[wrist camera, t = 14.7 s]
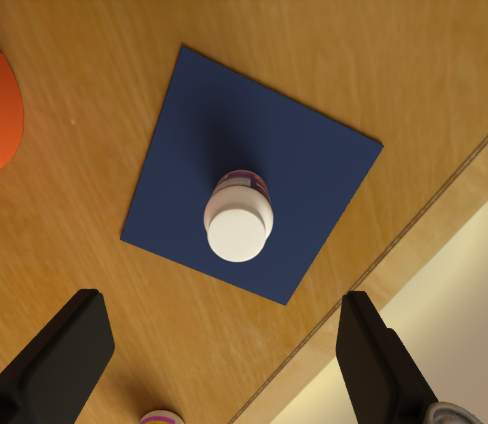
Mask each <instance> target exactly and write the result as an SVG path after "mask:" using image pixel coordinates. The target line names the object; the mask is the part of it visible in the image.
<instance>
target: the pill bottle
mask: <svg viewBox="0 0 488 424" xmlns="http://www.w3.org/2000/svg"><path fill="white" fill-rule="evenodd" d="M204 225H205V229H206V231H207V237H208V242H209V244H210V247H211V248H212V250H213V251H214V252H215V253H216V254H217V255H218V256H220V257H221V258H223V259H225V260H228V261H232V262H243V261H247V260H249V259H251V258H253V257H255V256H256V255H257V254H258V253H259V252H260V251H261V250H262V248H263V246H264V244H265V240H266V239H267V238H268V236H269V234H270V232H271V230H272V226H273V212H272V207H271V201H270V197H269V192H268V189H267V186H266V184H265V182H264V181H263V180H262V179H261V178H260V177H259V176H258V175H256V174H255V173H253V172H250V171H246V170H237V171H233V172H230V173H228V174H227V175H225V176H224V177H223V178H222V179H221V180H220V181H219V183H218V184H217V186H216V188H215V190H214V192H213V194H212V196H211V198H210V200H209V202H208V204H207V206H206V209H205V213H204Z"/></svg>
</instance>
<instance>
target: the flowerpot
mask: <svg viewBox="0 0 488 424" xmlns="http://www.w3.org/2000/svg"><path fill="white" fill-rule="evenodd" d="M23 124H24V111H23V105H22V98H21V94H20V91H19V88H18V85H17V82H16V79H15V76H14V74H13V72H12V70H11V68H10V66H9V64H8V62H7V60H6V58H5V57H4V55H3V54H2V53H1V51H0V169H1V168H3V167H4V166H5V165H6V164H7V163H8V162H9V161H10V160H11V159H12V158H13V156H14V154H15V152H16V150H17V149H18V147H19V145H20V141H21V137H22V133H23Z"/></svg>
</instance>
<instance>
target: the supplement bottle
mask: <svg viewBox="0 0 488 424" xmlns="http://www.w3.org/2000/svg"><path fill="white" fill-rule="evenodd" d="M140 424H184V422H183V421H182V419H181V418H180V417H179V416H177V415H176V414H174V413H172V412H169V411H165V410H156V411H152V412H149V413H148V414H146V415H145V416H144V417H143V418H142V419H141V421H140Z"/></svg>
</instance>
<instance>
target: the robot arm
mask: <svg viewBox="0 0 488 424" xmlns="http://www.w3.org/2000/svg"><path fill="white" fill-rule="evenodd" d="M114 349H115V343H114V339H113V335H112V331H111V327H110V323H109V319H108V314H107V310H106V306H105V302H104V298H103V295H102V293H99V291H98V290H97V289H80V290H79V291H78V292H77V293H76V294H75V295H74V296H73V297H72V298H71V299H70V300H69V301H68V302H67V303H66V304H65V305H64V306H63V308H62V309H61V310H60V311H59V312H58V313H57V314H56V315H55V316H54V317H53V318H52V319H51V320H50V321H49V322H48V323H47V325H46V326H45V327H44V328H43V329H42V330H41V331H40V332H39V333H38V334H37V335H36V336H35V337H34V338H33V339H32V340H31V342H30V343H29V344H28V345H27V346H26V347H25V348H24V349H23V350H22V351H21V352H20V353H19V354H18V355H17V356H16V357H15V359H14V360H13V361H12V362H11V363H10V364H9V365H8V366H7V367H6V368H5V369H4V370H3V371H2V372H1V373H0V424H74V423H75V421H76V419H77V417H78V416H79V414H80V412H81V410H82V409H83V407H84V405H85V403H86V401H87V400H88V398H89V396H90V394H91V393H92V391H93V389H94V387H95V385H96V384H97V382H98V380H99V378H100V377H101V375H102V373H103V371H104V369H105V368H106V366H107V364H108V362H109V361H110V359H111V357H112V355H113V353H114ZM336 357H337V360H338V363H339V366H340V369H341V372H342V375H343V379H344V381H345V385H346V388H347V391H348V394H349V397H350V400H351V403H352V406H353V409H354V412H355V415H356V418H357V421H358V424H483V423H482V422H481V421H480V420H478V419H477V418H476V417H475V416H474V415H473V414H471V413H470V412H468V411H467V410H465V409H464V408H462V407H459V406H457V405H455V404H452V403H447V402H439V401H438V399H437V398H436V396H435V394H434V393H433V391H432V390H431V388H430V386H429V385H428V383H427V382H426V380H425V378H424V377H423V375H422V374H421V372H420V371H419V369H418V367H417V366H416V364H415V362H414V361H413V359H412V357H411V356H410V354H409V353H408V351H407V350H406V348H405V346H404V345H403V343H402V341H401V340H400V338H399V337H398V335H397V334H396V332H395V331H394V330H393V329H391V328H387V327H386V325H385V323H384V322H383V320H382V318H381V317H380V315H379V313H378V312H377V310H376V308H375V307H374V305H373V303H372V302H371V300H370V298H369V297H368V295H367V293H366V292H365V291H349V292H348V294H347V295H343V299H342V306H341V313H340V320H339V328H338V335H337V342H336Z"/></svg>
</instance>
